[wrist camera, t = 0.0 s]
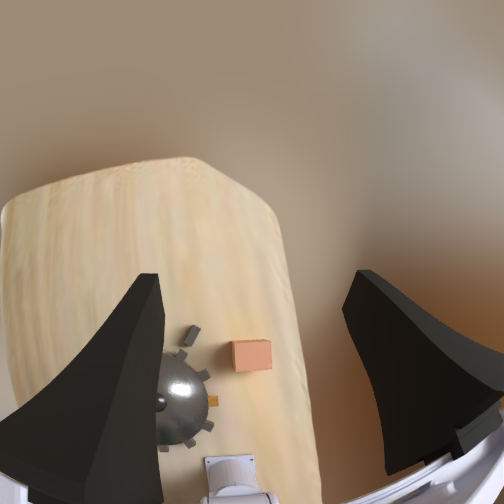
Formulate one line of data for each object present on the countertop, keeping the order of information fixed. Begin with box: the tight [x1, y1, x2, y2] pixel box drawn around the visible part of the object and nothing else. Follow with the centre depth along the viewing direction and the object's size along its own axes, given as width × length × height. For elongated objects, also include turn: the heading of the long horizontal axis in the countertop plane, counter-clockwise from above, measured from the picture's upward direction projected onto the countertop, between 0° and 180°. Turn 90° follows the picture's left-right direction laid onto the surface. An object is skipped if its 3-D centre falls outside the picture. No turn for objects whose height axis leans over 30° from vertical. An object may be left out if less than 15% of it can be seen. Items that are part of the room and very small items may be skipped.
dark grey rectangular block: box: [184, 325, 201, 346], centre depth 38 cm, size 3×1×2 cm, turn 152°
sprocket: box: [156, 349, 218, 452], centre depth 31 cm, size 18×18×6 cm
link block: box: [231, 339, 272, 372], centre depth 37 cm, size 4×5×5 cm
